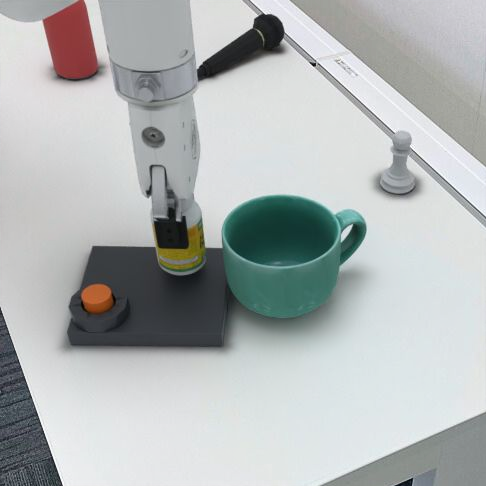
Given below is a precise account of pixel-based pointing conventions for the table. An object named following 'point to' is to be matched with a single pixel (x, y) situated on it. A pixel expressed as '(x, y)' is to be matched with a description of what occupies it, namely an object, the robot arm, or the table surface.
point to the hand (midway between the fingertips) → (177, 227)
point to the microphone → (246, 44)
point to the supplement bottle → (196, 252)
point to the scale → (151, 301)
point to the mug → (287, 252)
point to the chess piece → (399, 166)
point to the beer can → (71, 42)
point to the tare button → (97, 299)
